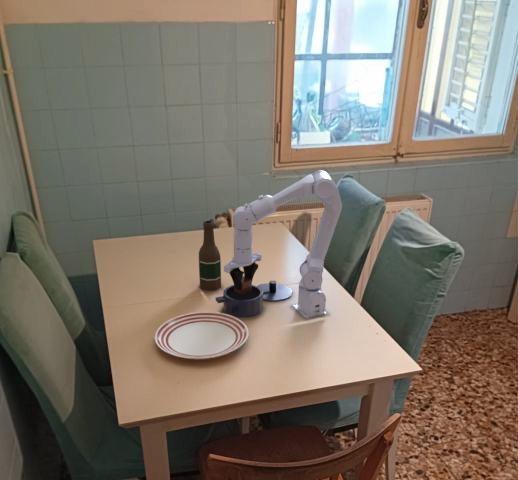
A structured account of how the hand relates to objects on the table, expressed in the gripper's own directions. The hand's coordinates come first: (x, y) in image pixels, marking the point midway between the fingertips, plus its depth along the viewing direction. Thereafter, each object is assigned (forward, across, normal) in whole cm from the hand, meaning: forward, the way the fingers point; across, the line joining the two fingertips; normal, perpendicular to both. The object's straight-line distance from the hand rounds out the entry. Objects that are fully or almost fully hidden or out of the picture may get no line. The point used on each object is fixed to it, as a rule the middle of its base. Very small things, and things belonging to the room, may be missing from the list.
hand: (243, 286), depth 181 cm
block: (+1, 0, 0) cm, 1 cm away
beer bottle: (+9, -3, -20) cm, 22 cm away
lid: (+8, -16, -2) cm, 18 cm away
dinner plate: (+9, +23, +6) cm, 25 cm away
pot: (+8, 0, 0) cm, 8 cm away
